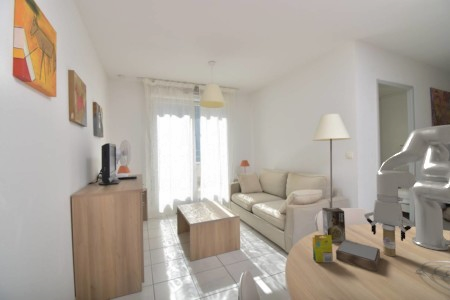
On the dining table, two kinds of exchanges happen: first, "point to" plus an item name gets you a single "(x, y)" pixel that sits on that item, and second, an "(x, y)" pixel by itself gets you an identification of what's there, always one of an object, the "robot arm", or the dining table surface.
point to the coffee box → (334, 223)
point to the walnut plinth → (358, 255)
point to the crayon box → (322, 248)
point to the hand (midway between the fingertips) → (387, 236)
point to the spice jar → (389, 240)
